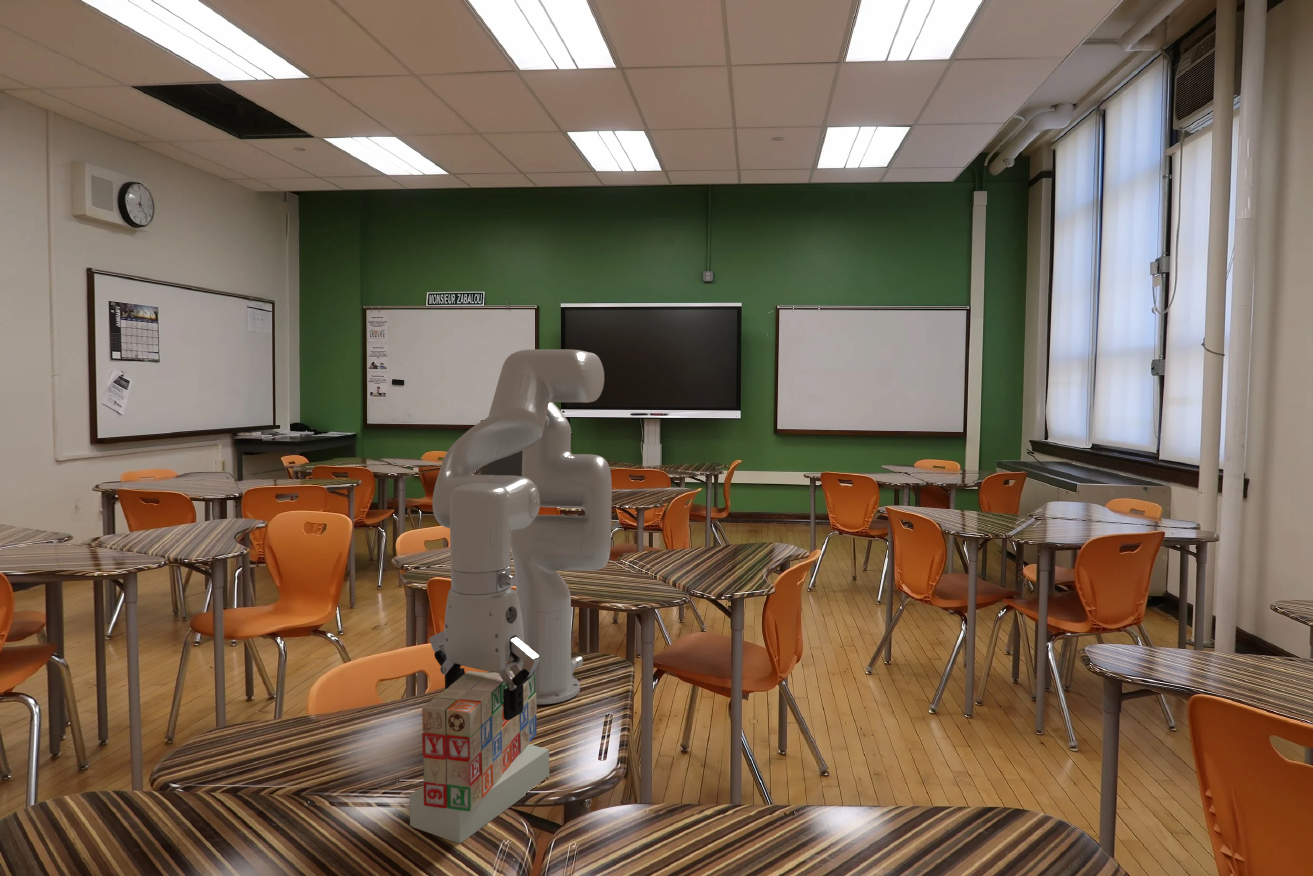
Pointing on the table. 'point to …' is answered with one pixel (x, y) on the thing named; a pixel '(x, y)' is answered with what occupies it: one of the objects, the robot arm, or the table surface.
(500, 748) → the stack of blocks
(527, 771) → the base block
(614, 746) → the table surface
